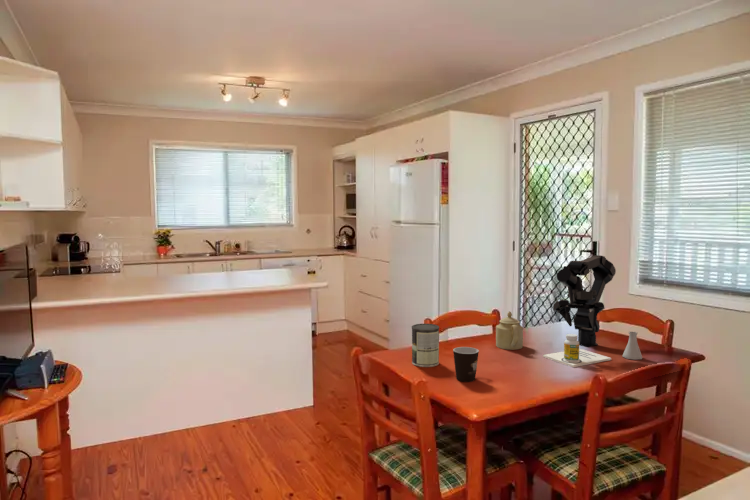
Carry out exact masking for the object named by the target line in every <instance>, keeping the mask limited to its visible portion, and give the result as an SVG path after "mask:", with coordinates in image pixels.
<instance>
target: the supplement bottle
mask: <svg viewBox="0 0 750 500" xmlns="http://www.w3.org/2000/svg"><path fill="white" fill-rule="evenodd" d="M565 338H566V339H565V340H564V342H563V351H564V360H566V361H569V362H577V361H579V349H580V344H579V341H578V335H577V334H575V333H567V334H566V335H565Z"/></svg>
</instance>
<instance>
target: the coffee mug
mask: <svg viewBox="0 0 750 500" xmlns="http://www.w3.org/2000/svg"><path fill="white" fill-rule="evenodd" d="M452 351H453V352H452V353H453V361H454V370H455V379H456V380H457V381H458V382H461V383H471V382H475V380H476V375H477V368H478V359H479V353H480V350H479V349H478V348H475V347H470V346H459V347H455V348H453V350H452Z"/></svg>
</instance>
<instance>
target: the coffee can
mask: <svg viewBox="0 0 750 500" xmlns="http://www.w3.org/2000/svg"><path fill="white" fill-rule="evenodd" d="M439 332H440V326H439V325H437V324H433V323H416V324H413V325H412V326H411V353H412V354H411V364H412V365H414V366H416V367H419V368H432V367H436V366H438V365H439V364H440V362H439V361H440V357H439V355H440V353H439V352H440V333H439Z"/></svg>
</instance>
